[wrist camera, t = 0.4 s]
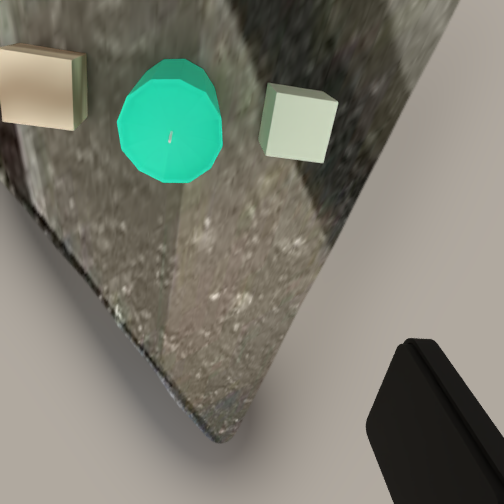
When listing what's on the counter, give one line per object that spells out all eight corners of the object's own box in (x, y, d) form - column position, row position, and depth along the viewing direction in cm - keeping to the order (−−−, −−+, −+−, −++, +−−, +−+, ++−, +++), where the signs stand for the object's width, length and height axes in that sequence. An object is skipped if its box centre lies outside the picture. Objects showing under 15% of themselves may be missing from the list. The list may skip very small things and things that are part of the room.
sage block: (267, 82, 34) (276, 92, 30) (322, 91, 34) (338, 102, 31) (258, 139, 36) (265, 155, 32) (309, 146, 37) (323, 163, 33)
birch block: (20, 42, 31) (-6, 48, 27) (86, 53, 31) (71, 60, 27) (25, 107, 33) (2, 121, 29) (87, 116, 33) (73, 130, 30)
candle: (226, 125, 35) (238, 175, 25) (156, 147, 35) (139, 206, 25) (202, 46, 32) (204, 66, 21) (125, 71, 32) (91, 102, 22)
